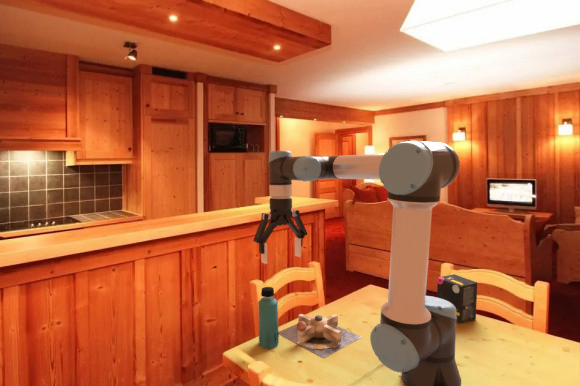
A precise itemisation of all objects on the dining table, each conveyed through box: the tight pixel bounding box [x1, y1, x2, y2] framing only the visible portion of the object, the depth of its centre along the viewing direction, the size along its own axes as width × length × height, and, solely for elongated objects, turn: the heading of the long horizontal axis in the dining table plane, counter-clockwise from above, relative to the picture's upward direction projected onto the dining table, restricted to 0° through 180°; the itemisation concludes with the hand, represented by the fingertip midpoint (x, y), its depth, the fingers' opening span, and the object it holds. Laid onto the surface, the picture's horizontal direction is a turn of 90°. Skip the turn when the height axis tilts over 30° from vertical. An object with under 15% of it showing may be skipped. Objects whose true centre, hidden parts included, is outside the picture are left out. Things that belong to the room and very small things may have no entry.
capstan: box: [296, 313, 341, 344], centre depth 123 cm, size 18×19×7 cm
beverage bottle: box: [257, 286, 280, 350], centre depth 117 cm, size 6×7×20 cm
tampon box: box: [436, 274, 478, 325], centre depth 140 cm, size 11×9×15 cm
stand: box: [278, 323, 363, 359], centre depth 124 cm, size 22×19×2 cm
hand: (281, 259), depth 124 cm, fingers open, 13 cm apart
